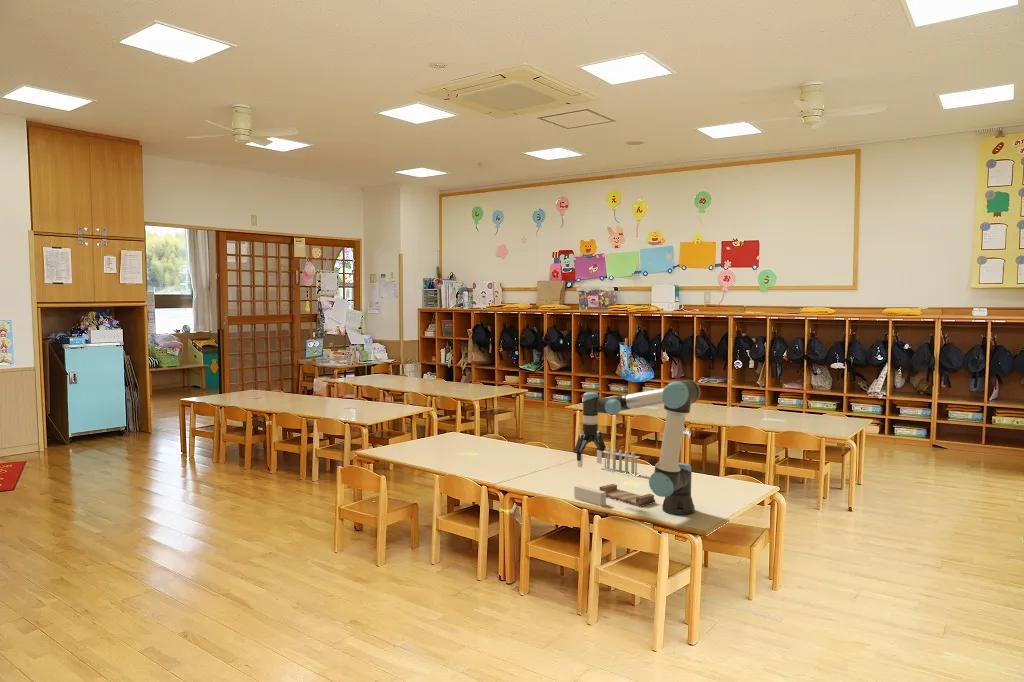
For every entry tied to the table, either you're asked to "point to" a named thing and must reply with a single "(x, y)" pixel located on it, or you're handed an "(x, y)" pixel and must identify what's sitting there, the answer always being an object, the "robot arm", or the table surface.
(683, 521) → the table surface
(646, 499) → the brown notched plank
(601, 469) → the test tube rack
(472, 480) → the table surface
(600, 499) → the grey rectangular block
